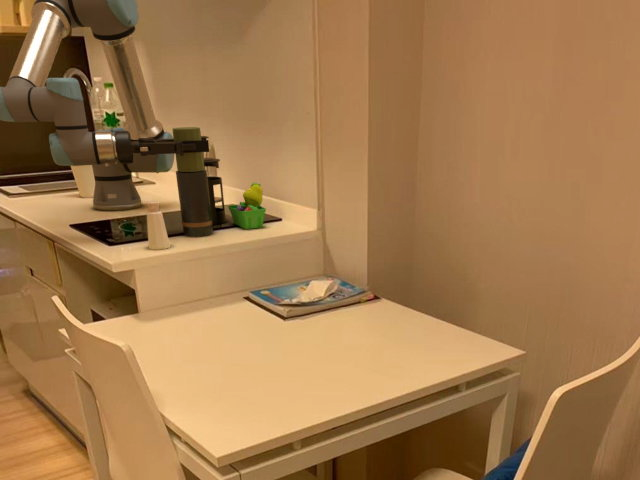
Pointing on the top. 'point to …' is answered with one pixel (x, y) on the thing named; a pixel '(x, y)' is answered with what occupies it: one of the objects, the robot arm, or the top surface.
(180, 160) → the olive tea canister
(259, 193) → the fruit basket
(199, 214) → the flask
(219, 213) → the french press
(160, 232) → the salt shaker
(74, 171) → the foam cup
